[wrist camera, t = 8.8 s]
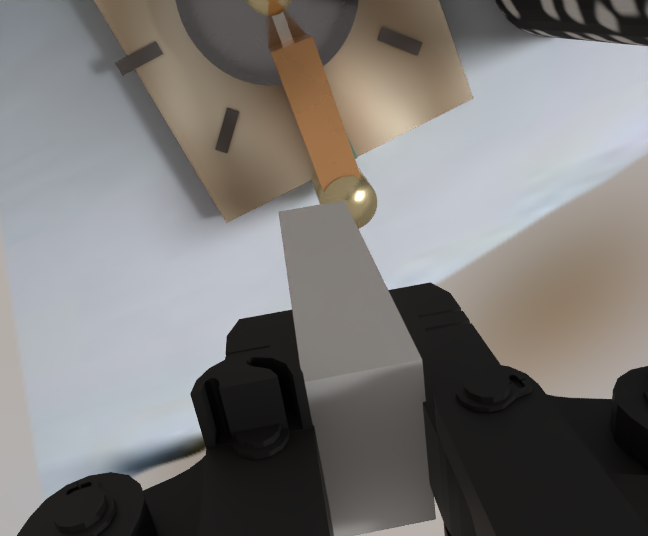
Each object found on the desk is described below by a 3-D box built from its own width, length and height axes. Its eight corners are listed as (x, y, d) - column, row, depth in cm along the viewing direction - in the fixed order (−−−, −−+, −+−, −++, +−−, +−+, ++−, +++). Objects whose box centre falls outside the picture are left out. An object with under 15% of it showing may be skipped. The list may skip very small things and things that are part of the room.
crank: (143, -74, 28) (123, -90, 23) (319, -146, 28) (334, -177, 23) (272, 227, 35) (276, 259, 30) (415, 172, 34) (441, 196, 30)
